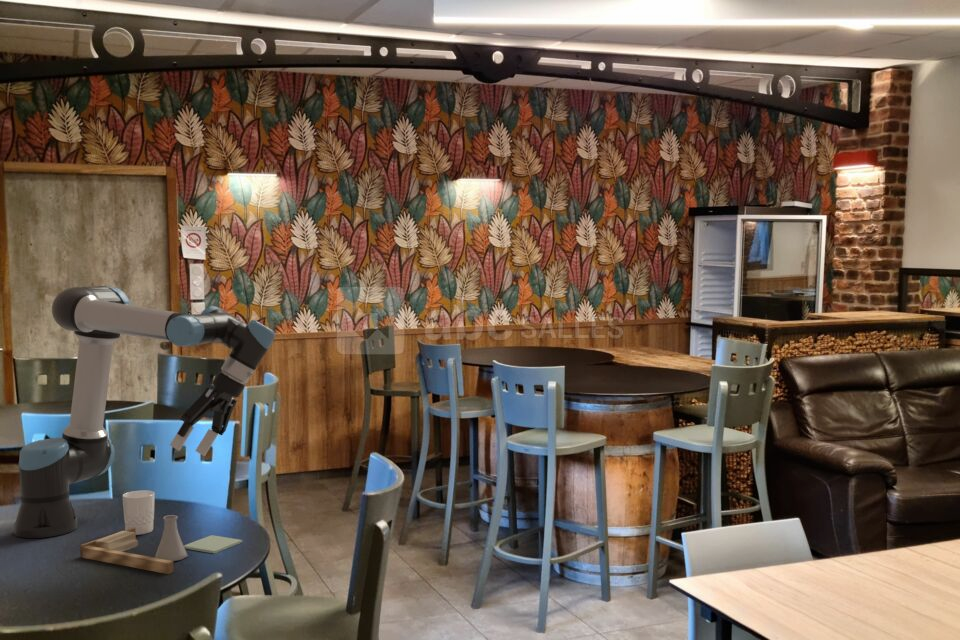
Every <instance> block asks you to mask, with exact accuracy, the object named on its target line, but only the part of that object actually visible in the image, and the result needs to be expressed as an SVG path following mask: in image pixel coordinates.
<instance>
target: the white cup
mask: <svg viewBox="0 0 960 640" xmlns="http://www.w3.org/2000/svg"><path fill="white" fill-rule="evenodd" d="M121 495H122V505H123V506H122V507H123V508H122V509H123V518H124V519H123V521H124V528H125V529H124V530H127V529H130V528H135V530H136V536H140V535H146V534H149V533H152V531H153V530H154V520H155V495H156V494H155V491H152V490H148V489H147V490H141V489H140V490H134V491H128V492H125V493H123V494H121Z"/></svg>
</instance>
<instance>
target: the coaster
mask: <svg viewBox="0 0 960 640" xmlns="http://www.w3.org/2000/svg"><path fill="white" fill-rule="evenodd" d="M242 543H243V539H239V538H231V537H225V536H219V535H214V534H213V535H212V534H211V535H208V536H206V537H203V538H200V539H197V540H195V541H192V542H189V543H187V544H185V545H184V544H183V546H184V548H185V550H192V551H197V552H198V551H199V552H204V553H208V554H209V553H210V554H217V553H219V552H222V551H224V550H228V549H229V548H231V547H234V546H237V545H240V544H242Z"/></svg>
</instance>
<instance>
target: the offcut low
mask: <svg viewBox="0 0 960 640" xmlns="http://www.w3.org/2000/svg"><path fill="white" fill-rule="evenodd" d="M138 546H139V541H138V539H136V540H135V541H133V542H130V543H128V544H125V545H123V546H120V547H118V548H115V549H113V550H115V551H121V552H125V551H128V550H131V549H134V548H136V547H138Z"/></svg>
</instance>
